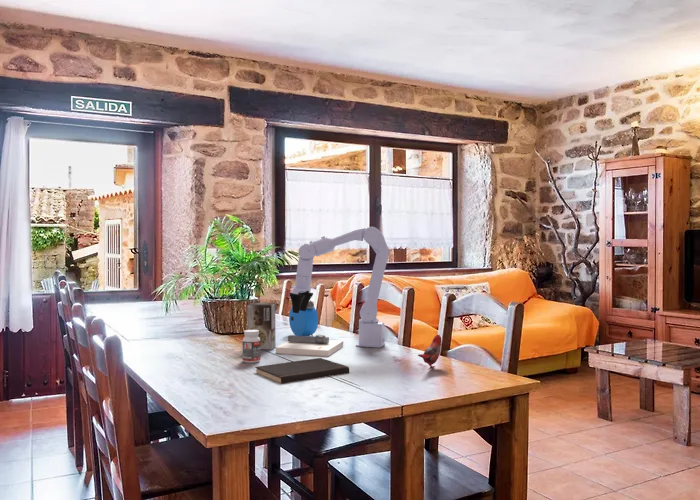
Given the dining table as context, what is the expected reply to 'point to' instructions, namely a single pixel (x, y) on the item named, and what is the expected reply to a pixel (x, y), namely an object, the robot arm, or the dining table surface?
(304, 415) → the dining table surface
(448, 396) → the dining table surface
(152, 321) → the dining table surface
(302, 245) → the robot arm
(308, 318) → the alarm clock
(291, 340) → the latch handle
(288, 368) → the hardcover book
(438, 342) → the decorative bird figurine
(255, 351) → the pill bottle
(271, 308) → the coffee box
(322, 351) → the cover plate
